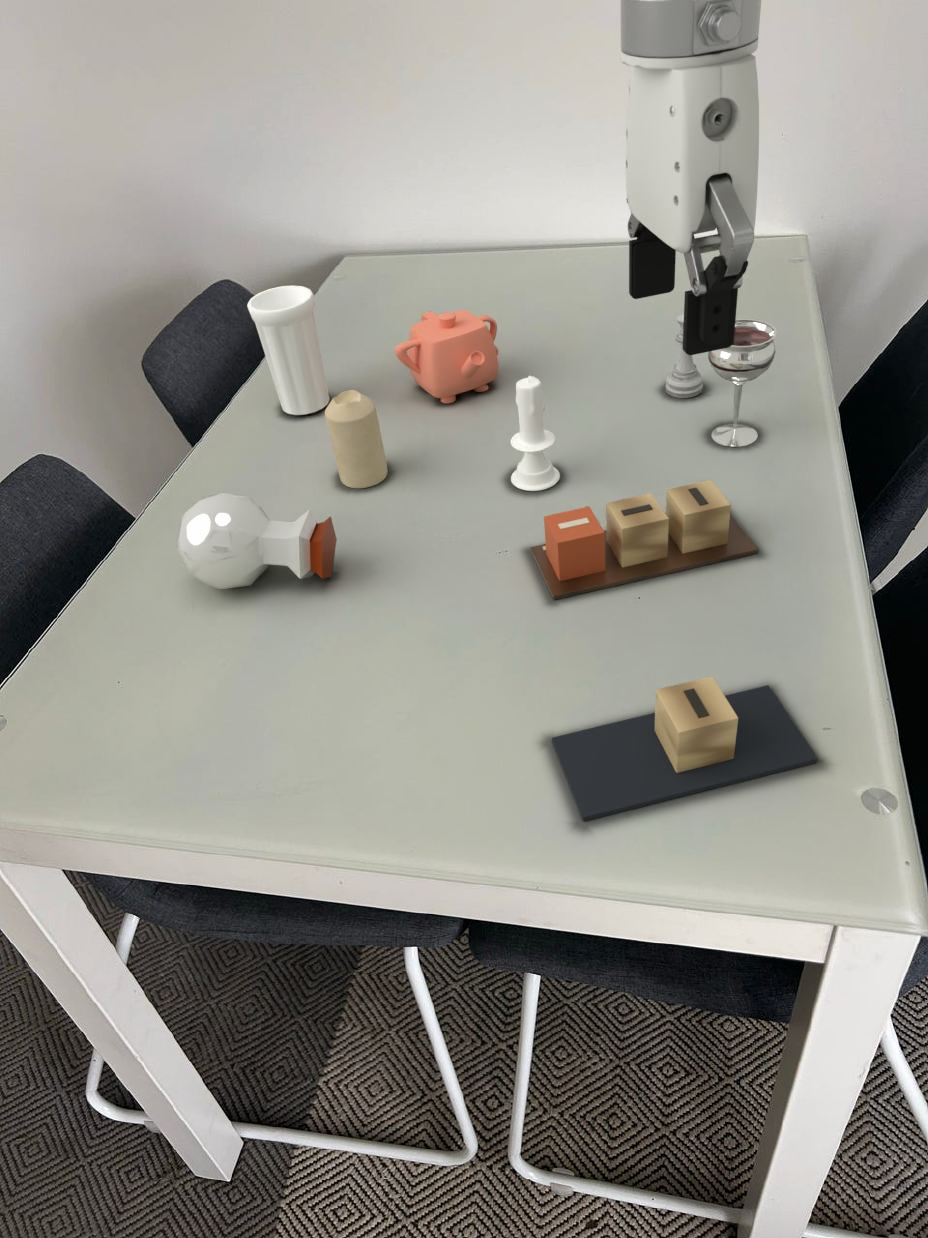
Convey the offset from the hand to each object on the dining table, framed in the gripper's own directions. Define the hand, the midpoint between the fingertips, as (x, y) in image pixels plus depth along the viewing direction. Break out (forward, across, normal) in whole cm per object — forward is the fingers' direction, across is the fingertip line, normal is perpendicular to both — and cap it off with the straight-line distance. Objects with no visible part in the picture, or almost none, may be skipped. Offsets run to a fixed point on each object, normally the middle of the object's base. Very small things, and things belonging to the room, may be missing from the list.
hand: (678, 320), depth 63 cm
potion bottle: (+28, +21, +34) cm, 49 cm away
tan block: (+28, -13, +3) cm, 31 cm away
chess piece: (+28, +40, -18) cm, 52 cm away
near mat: (+28, -13, +4) cm, 31 cm away
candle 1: (+28, +36, +22) cm, 51 cm away
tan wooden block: (+28, +12, -8) cm, 31 cm away
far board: (+28, +12, -2) cm, 31 cm away
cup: (+28, +56, +27) cm, 68 cm away
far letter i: (+28, +12, -2) cm, 30 cm away
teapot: (+28, +52, +8) cm, 60 cm away
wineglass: (+28, +28, -19) cm, 44 cm away
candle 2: (+28, +28, +4) cm, 40 cm away
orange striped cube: (+28, +12, +5) cm, 30 cm away
